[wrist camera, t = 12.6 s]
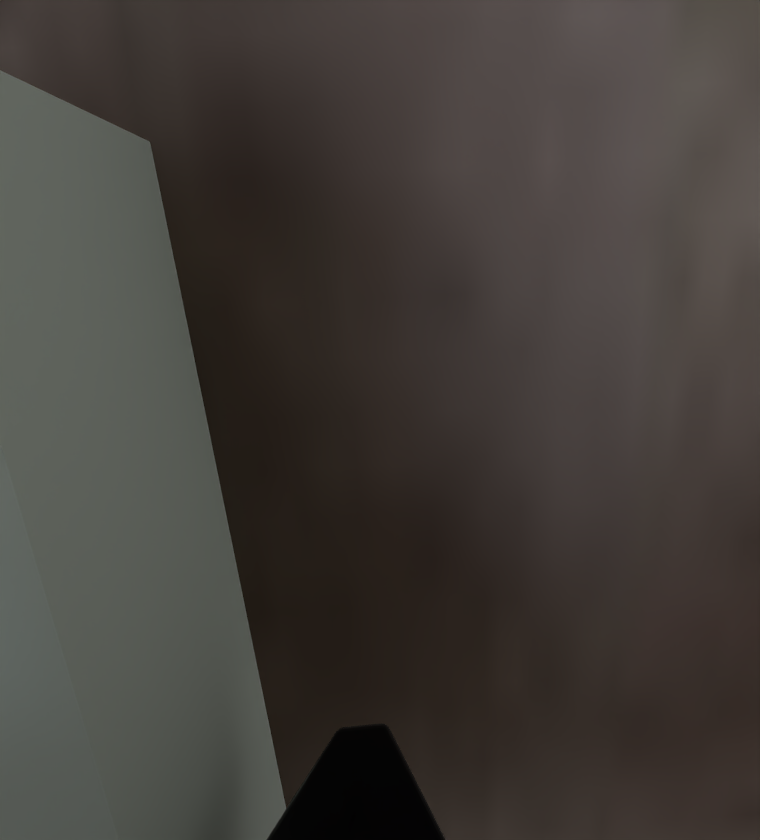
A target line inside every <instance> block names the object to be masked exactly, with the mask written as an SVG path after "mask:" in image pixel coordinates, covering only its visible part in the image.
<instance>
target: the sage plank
mask: <svg viewBox="0 0 760 840" xmlns="http://www.w3.org/2000/svg"><path fill="white" fill-rule="evenodd" d="M285 810H286V805H285V800H284V795H283V790H282V785H281V780H280V775H279V770H278V766H277V761H276V756H275V751H274V746H273V741H272V736H271V731H270V726H269V721H268V717H267V712H266V707H265V702H264V697H263V692H262V687H261V682H260V677H259V673H258V668H257V663H256V658H255V653H254V648H253V643H252V638H251V633H250V629H249V624H248V619H247V614H246V609H245V604H244V599H243V594H242V589H241V585H240V580H239V575H238V570H237V565H236V560H235V555H234V550H233V545H232V541H231V536H230V531H229V526H228V521H227V516H226V511H225V506H224V501H223V496H222V492H221V487H220V482H219V477H218V472H217V467H216V462H215V457H214V452H213V448H212V443H211V438H210V433H209V428H208V423H207V418H206V413H205V408H204V404H203V399H202V394H201V389H200V384H199V379H198V374H197V369H196V364H195V360H194V355H193V350H192V345H191V340H190V335H189V330H188V325H187V320H186V316H185V311H184V306H183V301H182V296H181V291H180V286H179V281H178V276H177V271H176V267H175V262H174V257H173V252H172V247H171V242H170V237H169V232H168V227H167V223H166V218H165V213H164V208H163V203H162V198H161V193H160V188H159V183H158V179H157V174H156V169H155V164H154V159H153V154H152V149H151V144H150V142H149V141H147V140H145V139H143V138H141V137H139V136H137V135H135V134H133V133H131V132H129V131H126V130H124V129H122V128H120V127H118V126H116V125H114V124H112V123H110V122H108V121H105V120H103V119H101V118H99V117H97V116H95V115H93V114H91V113H89V112H87V111H85V110H82V109H80V108H78V107H76V106H74V105H72V104H70V103H68V102H66V101H64V100H61V99H59V98H57V97H55V96H53V95H51V94H49V93H47V92H45V91H43V90H41V89H38V88H36V87H34V86H32V85H30V84H28V83H26V82H24V81H22V80H20V79H18V78H15V77H13V76H11V75H9V74H7V73H5V72H3V71H1V70H0V840H266V839H267V838H268V836H269V835H270V833H271V832H272V830H273V829H274V827H275V826H276V824H277V822H278V821H279V819H280V818H281V816H282V815H283V813H284V812H285Z"/></svg>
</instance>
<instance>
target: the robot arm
mask: <svg viewBox="0 0 760 840" xmlns="http://www.w3.org/2000/svg"><path fill="white" fill-rule="evenodd" d="M266 840H445V838H444V836H443V834H442V832H441V830H440V828H439V826H438V824H437V822H436V820H435V818H434V816H433V814H432V812H431V810H430V808H429V806H428V804H427V802H426V800H425V798H424V796H423V794H422V792H421V790H420V788H419V786H418V784H417V782H416V780H415V778H414V776H413V774H412V772H411V770H410V768H409V766H408V764H407V762H406V760H405V758H404V756H403V754H402V752H401V750H400V748H399V746H398V744H397V742H396V740H395V739H394V737H393V735H392V733H391V731H390V729H389V727H388V726H387V725H385V724H372V725H362V726H352V727H343V728H340V729H339V730H338V731H336V733H335V734H334V736H333V737H332V739H331V740H330V742H329V743H328V745H327V747H326V748H325V750H324V751H323V753H322V754H321V756H320V757H319V759H318V760H317V762H316V764H315V765H314V767H313V768H312V770H311V771H310V773H309V774H308V776H307V778H306V779H305V781H304V782H303V784H302V785H301V787H300V788H299V790H298V791H297V793H296V795H295V796H294V798H293V799H292V801H291V802H290V804H289V805H288V807H287V809H286V810H285V812H284V813H283V815H282V816H281V818H280V819H279V821H278V822H277V824H276V826H275V827H274V829H273V830H272V832H271V833H270V835H269V836H268V838H267V839H266Z"/></svg>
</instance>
